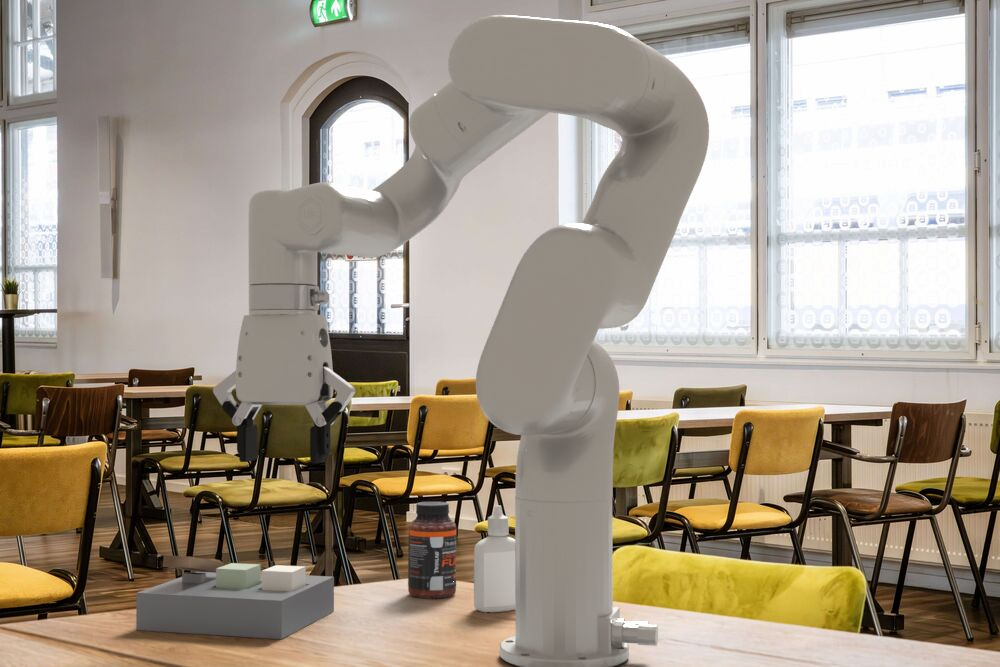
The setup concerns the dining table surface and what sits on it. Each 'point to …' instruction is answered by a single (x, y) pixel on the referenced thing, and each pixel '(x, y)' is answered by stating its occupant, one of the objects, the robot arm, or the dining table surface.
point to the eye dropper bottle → (495, 567)
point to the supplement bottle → (432, 552)
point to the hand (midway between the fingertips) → (283, 460)
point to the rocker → (192, 563)
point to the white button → (284, 578)
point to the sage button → (238, 576)
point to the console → (232, 607)
